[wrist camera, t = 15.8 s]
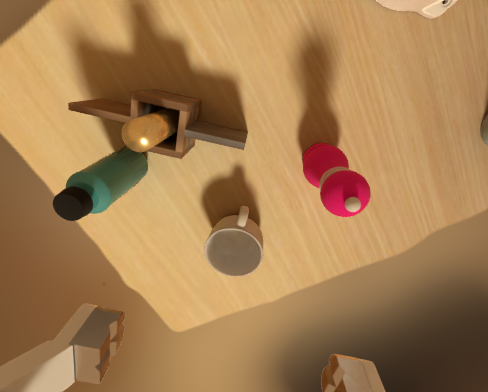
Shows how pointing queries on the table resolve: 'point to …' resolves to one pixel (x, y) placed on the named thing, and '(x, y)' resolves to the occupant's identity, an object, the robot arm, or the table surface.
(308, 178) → the pepper mill
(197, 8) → the table surface
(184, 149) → the brown winged open box
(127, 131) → the brass pin
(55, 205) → the beverage bottle
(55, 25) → the table surface
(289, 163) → the table surface
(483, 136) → the green oval vase
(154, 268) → the table surface
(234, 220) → the teacup
